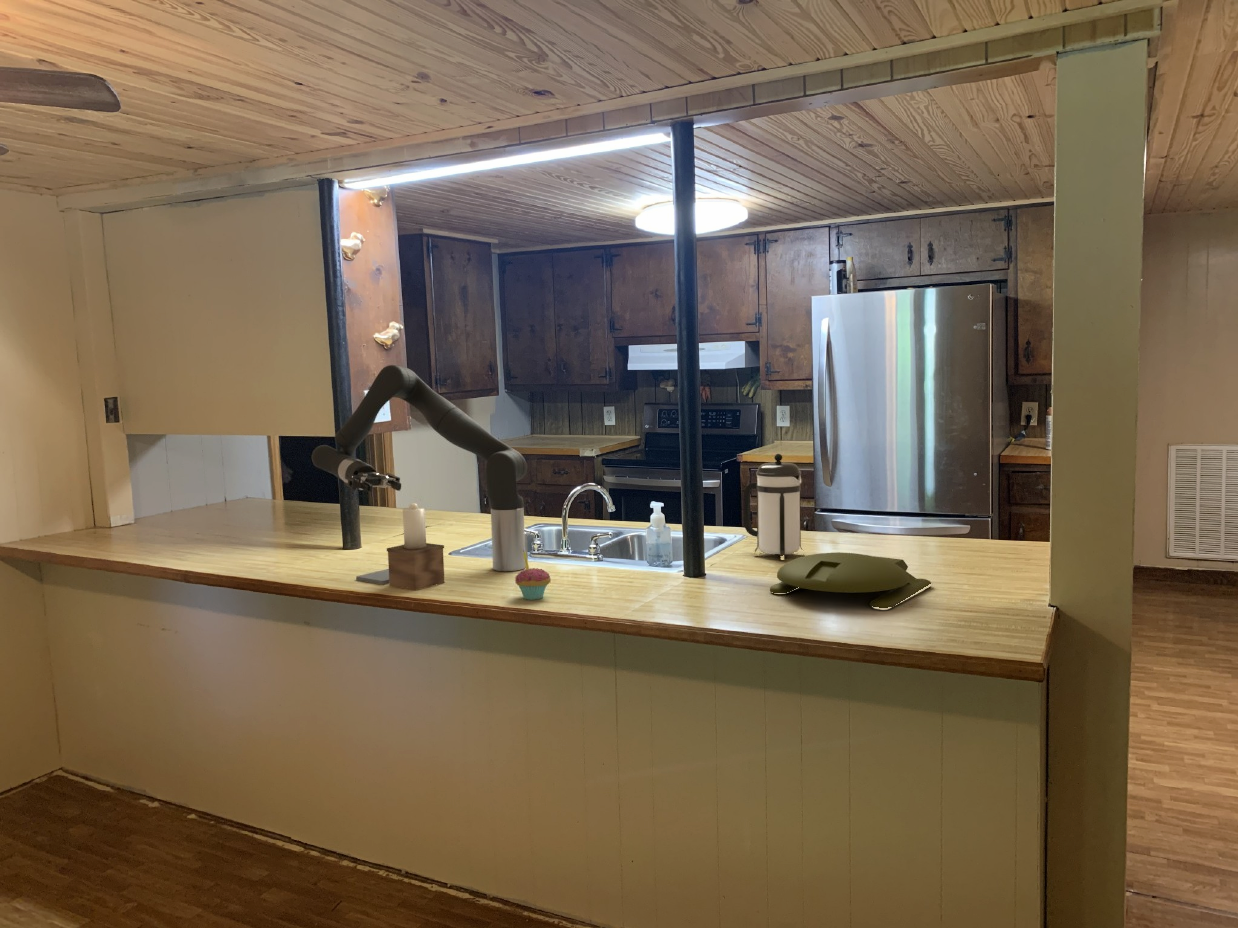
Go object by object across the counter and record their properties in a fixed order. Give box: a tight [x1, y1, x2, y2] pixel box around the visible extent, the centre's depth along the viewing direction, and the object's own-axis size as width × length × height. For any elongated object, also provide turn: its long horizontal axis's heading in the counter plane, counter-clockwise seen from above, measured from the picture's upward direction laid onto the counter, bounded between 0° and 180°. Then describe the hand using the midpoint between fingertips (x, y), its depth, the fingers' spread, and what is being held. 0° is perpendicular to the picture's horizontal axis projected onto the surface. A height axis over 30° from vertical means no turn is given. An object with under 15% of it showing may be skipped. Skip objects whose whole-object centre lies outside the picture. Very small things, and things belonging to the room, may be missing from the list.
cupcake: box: [514, 549, 552, 601], centre depth 218 cm, size 9×8×12 cm
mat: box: [355, 568, 389, 585], centre depth 244 cm, size 12×11×1 cm
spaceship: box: [769, 552, 932, 608], centre depth 216 cm, size 35×31×10 cm
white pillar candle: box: [402, 502, 427, 549], centre depth 234 cm, size 6×6×12 cm
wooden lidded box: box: [386, 542, 445, 591], centre depth 235 cm, size 10×10×10 cm
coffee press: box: [742, 453, 803, 557], centre depth 260 cm, size 17×16×30 cm
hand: (385, 488), depth 242 cm, fingers open, 8 cm apart
